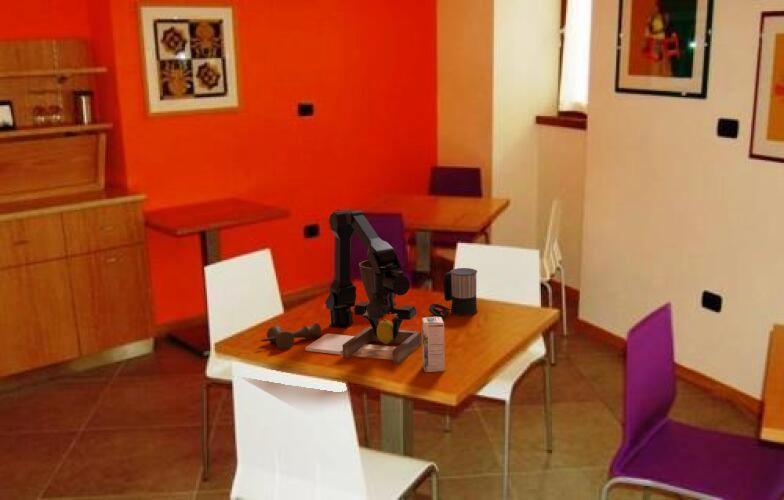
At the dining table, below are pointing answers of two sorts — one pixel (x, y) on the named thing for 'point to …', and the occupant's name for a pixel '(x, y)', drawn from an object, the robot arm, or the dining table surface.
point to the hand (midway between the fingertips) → (385, 337)
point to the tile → (329, 344)
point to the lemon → (385, 331)
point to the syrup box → (433, 344)
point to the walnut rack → (404, 338)
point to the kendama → (291, 335)
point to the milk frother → (458, 293)
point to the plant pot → (368, 278)
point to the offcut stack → (376, 351)
